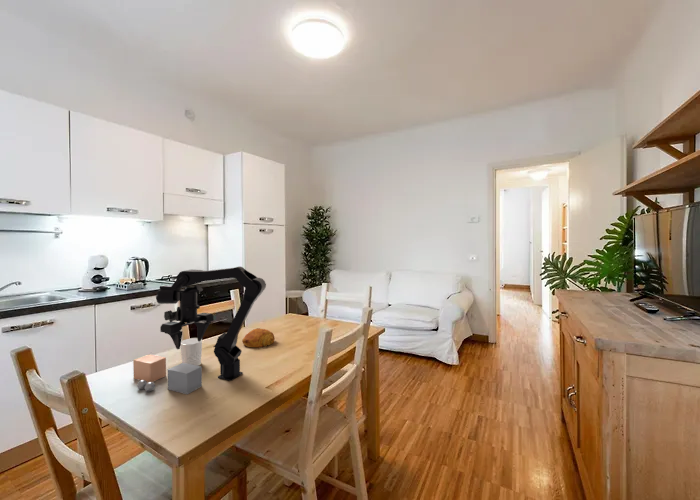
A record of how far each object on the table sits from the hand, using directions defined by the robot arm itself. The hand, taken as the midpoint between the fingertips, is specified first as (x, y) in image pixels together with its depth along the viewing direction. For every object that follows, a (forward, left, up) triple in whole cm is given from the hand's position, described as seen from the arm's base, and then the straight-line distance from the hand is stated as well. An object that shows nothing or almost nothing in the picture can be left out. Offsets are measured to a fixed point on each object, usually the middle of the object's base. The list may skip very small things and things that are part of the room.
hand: (189, 344), depth 113 cm
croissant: (0, -40, -12) cm, 41 cm away
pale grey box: (-6, +7, -12) cm, 15 cm away
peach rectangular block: (+13, +6, -12) cm, 19 cm away
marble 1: (+7, +13, -12) cm, 19 cm away
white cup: (+8, -8, -12) cm, 17 cm away
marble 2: (+3, +13, -12) cm, 18 cm away
